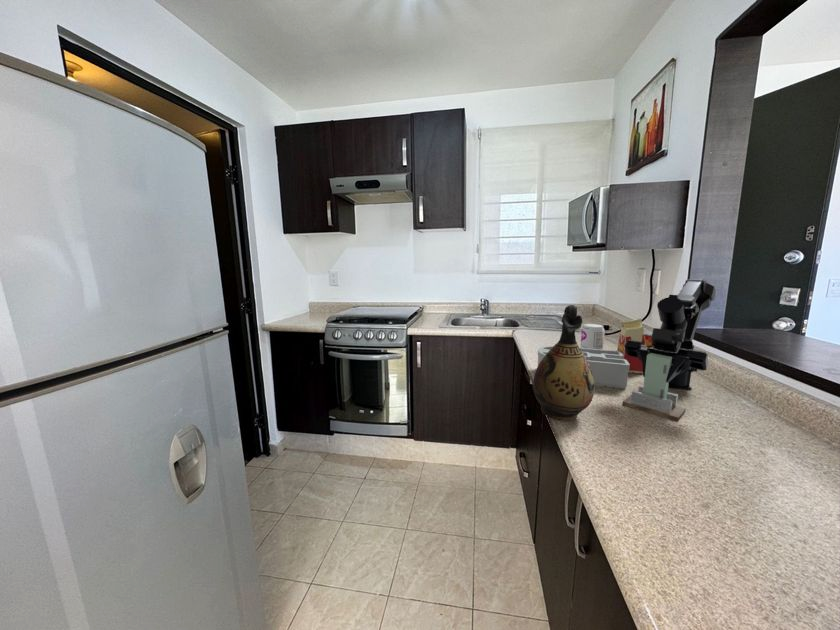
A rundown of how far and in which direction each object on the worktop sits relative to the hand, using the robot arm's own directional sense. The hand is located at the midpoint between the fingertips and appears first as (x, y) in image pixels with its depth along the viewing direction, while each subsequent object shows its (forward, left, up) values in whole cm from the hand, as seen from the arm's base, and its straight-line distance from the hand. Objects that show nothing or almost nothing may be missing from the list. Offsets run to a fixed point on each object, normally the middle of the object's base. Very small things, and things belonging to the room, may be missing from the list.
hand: (655, 379), depth 89 cm
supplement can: (+8, -43, -9) cm, 45 cm away
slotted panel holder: (-1, -1, -9) cm, 9 cm away
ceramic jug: (+24, +8, -9) cm, 27 cm away
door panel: (-1, -1, -7) cm, 7 cm away
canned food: (-15, -47, -9) cm, 50 cm away
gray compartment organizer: (+16, -23, -9) cm, 29 cm away
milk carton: (-4, -36, -9) cm, 38 cm away
